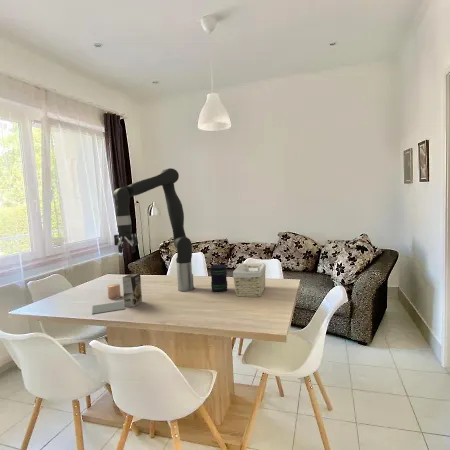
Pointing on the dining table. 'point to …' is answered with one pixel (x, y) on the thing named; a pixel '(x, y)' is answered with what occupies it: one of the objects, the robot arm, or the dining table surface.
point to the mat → (108, 307)
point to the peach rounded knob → (114, 291)
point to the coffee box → (132, 290)
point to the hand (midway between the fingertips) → (127, 252)
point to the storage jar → (218, 278)
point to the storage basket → (249, 279)
